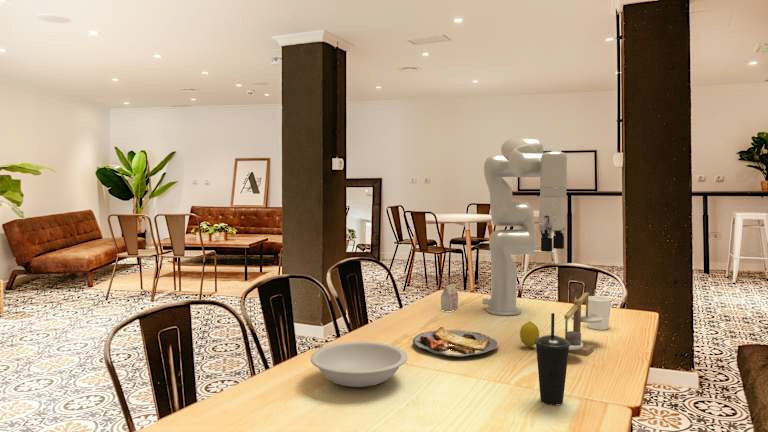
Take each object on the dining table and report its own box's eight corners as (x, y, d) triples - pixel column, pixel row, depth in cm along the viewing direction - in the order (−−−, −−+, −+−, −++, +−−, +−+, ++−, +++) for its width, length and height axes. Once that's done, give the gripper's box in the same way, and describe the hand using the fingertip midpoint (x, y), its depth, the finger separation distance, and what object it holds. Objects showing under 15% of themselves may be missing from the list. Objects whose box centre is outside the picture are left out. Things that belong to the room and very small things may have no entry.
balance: (544, 359, 148) (544, 303, 147) (576, 337, 169) (577, 288, 168) (576, 365, 142) (577, 307, 141) (605, 342, 163) (607, 291, 162)
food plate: (398, 346, 159) (398, 335, 159) (444, 331, 176) (444, 321, 176) (467, 368, 142) (468, 355, 142) (511, 349, 160) (511, 338, 159)
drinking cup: (528, 394, 123) (530, 309, 122) (560, 393, 123) (562, 309, 122) (541, 408, 115) (542, 318, 114) (575, 407, 116) (577, 317, 115)
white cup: (606, 324, 184) (606, 296, 184) (613, 330, 176) (614, 301, 176) (582, 324, 185) (583, 295, 184) (589, 330, 177) (589, 300, 177)
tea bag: (440, 311, 204) (441, 285, 204) (449, 307, 210) (449, 283, 209) (449, 312, 202) (449, 286, 202) (457, 309, 208) (458, 284, 207)
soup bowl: (373, 409, 115) (373, 379, 115) (290, 387, 128) (289, 360, 127) (424, 375, 135) (424, 350, 135) (348, 359, 148) (348, 336, 148)
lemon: (539, 345, 160) (539, 319, 160) (538, 351, 155) (538, 324, 154) (520, 344, 162) (520, 318, 161) (519, 349, 157) (519, 322, 156)
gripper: (551, 193, 168) (551, 246, 169) (529, 193, 154) (529, 251, 155) (575, 193, 163) (574, 248, 164) (555, 193, 150) (554, 253, 150)
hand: (552, 249), depth 160 cm, fingers open, 9 cm apart
